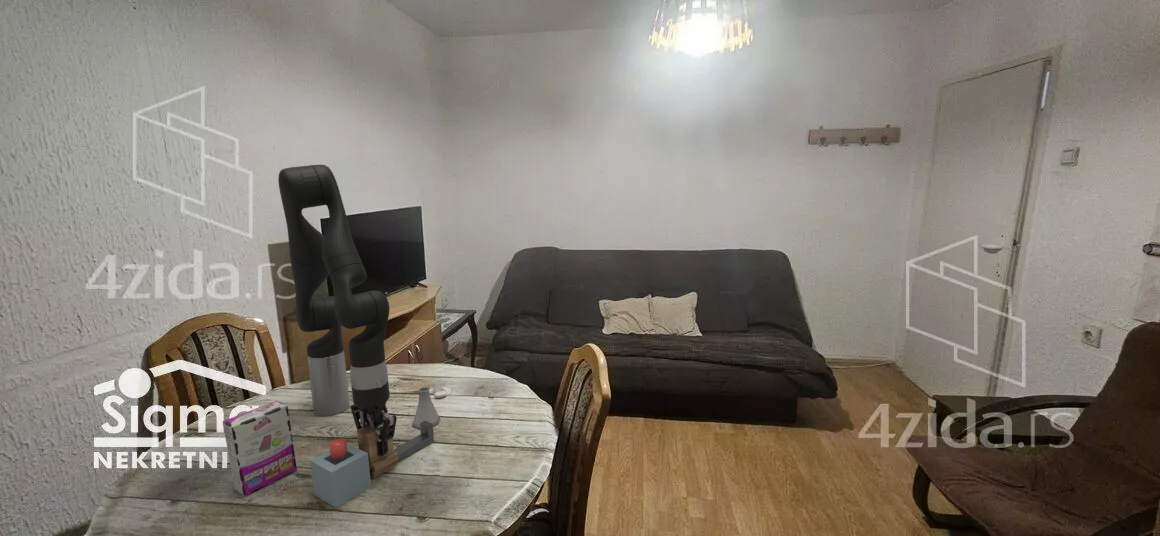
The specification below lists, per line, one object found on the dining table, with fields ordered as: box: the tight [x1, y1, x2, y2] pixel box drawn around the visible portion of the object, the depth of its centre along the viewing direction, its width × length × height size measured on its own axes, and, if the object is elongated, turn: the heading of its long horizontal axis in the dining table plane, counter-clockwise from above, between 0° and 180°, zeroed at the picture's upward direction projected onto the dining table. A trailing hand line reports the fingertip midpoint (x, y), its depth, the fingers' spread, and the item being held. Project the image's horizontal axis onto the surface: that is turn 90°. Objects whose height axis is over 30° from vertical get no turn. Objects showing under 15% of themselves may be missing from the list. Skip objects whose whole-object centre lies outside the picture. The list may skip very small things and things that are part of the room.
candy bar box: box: [222, 400, 298, 497], centre depth 105 cm, size 11×5×16 cm, turn 148°
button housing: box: [309, 442, 372, 509], centre depth 102 cm, size 8×8×8 cm
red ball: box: [328, 437, 347, 460], centre depth 101 cm, size 3×3×3 cm
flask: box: [411, 386, 441, 430], centre depth 130 cm, size 7×7×10 cm
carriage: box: [356, 424, 399, 479], centre depth 109 cm, size 7×6×10 cm
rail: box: [370, 421, 435, 480], centre depth 114 cm, size 3×20×5 cm, turn 148°
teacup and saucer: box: [429, 379, 452, 399], centre depth 149 cm, size 9×8×4 cm
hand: (376, 451), depth 109 cm, fingers closed on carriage, 4 cm apart
